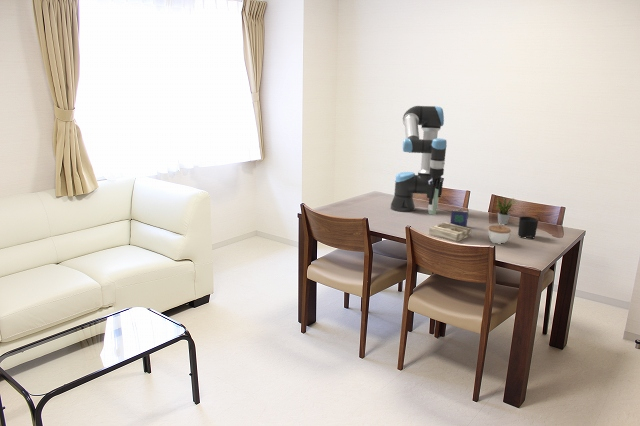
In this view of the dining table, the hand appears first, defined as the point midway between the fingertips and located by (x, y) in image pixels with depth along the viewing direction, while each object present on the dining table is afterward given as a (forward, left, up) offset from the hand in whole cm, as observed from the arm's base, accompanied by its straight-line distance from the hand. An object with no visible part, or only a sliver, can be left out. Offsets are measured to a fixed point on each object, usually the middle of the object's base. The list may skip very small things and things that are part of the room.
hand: (432, 209), depth 283 cm
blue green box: (-18, +7, -12) cm, 22 cm away
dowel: (0, 0, -3) cm, 3 cm away
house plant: (-44, +23, -12) cm, 51 cm away
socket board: (+2, +13, -11) cm, 18 cm away
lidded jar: (-7, +36, -12) cm, 39 cm away
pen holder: (-29, +42, -12) cm, 52 cm away
